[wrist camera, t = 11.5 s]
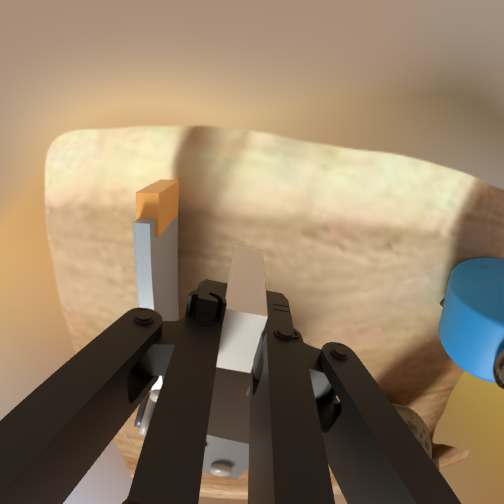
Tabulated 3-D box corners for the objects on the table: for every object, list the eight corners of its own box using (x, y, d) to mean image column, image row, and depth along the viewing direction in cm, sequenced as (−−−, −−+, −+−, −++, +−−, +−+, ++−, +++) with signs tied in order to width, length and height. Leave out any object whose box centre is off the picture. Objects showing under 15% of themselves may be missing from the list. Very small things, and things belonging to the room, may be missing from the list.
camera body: (265, 376, 29) (270, 454, 20) (238, 416, 32) (236, 484, 23) (160, 343, 28) (133, 418, 19) (147, 389, 30) (125, 455, 21)
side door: (164, 177, 21) (127, 196, 15) (182, 178, 22) (152, 197, 15) (168, 346, 27) (150, 401, 21) (183, 348, 28) (167, 404, 21)
